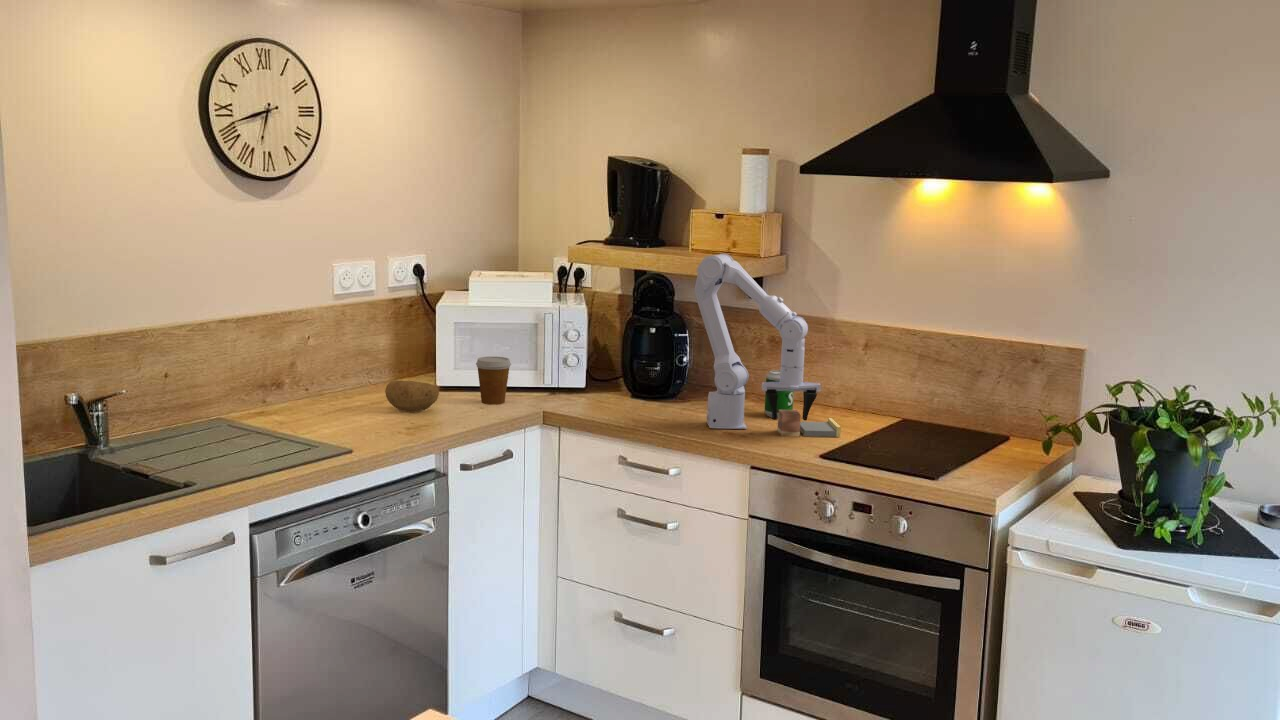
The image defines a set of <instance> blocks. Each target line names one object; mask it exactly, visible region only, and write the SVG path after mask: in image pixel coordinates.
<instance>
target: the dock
mask: <svg viewBox="0 0 1280 720" xmlns="http://www.w3.org/2000/svg"><path fill="white" fill-rule="evenodd" d="M841 427H842V426H841V425H840V424H838V423H837V422H836V421H835V420H834V418H832V417H828V418H827V421H800V431H801V432H800V434H802V435H803V436H804V437H807V436H809V437H810V436H811V437H813V438H816V437H817V438H818V437H819V438H822V437H823V438H841V432H842V431H841V429H842V428H841Z"/></svg>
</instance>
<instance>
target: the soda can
mask: <svg viewBox="0 0 1280 720" xmlns="http://www.w3.org/2000/svg"><path fill="white" fill-rule="evenodd" d="M780 370H781V369H780ZM780 370H778V369H776V370H775V369H773V370H770V371H769V372H768V373H767V374H766V376H765V382H780ZM784 389H788V388H784ZM764 392H765V391H764ZM776 392H777V395H778V400H777V419H778V413H779V410H794V407H793V406H794V392H795V391H776ZM764 413H765V414H766V416H767V417H768V416H769V418H772V411H771V406H770V403H769V400H768V397H767V395H766V392H765V395H764Z"/></svg>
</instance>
